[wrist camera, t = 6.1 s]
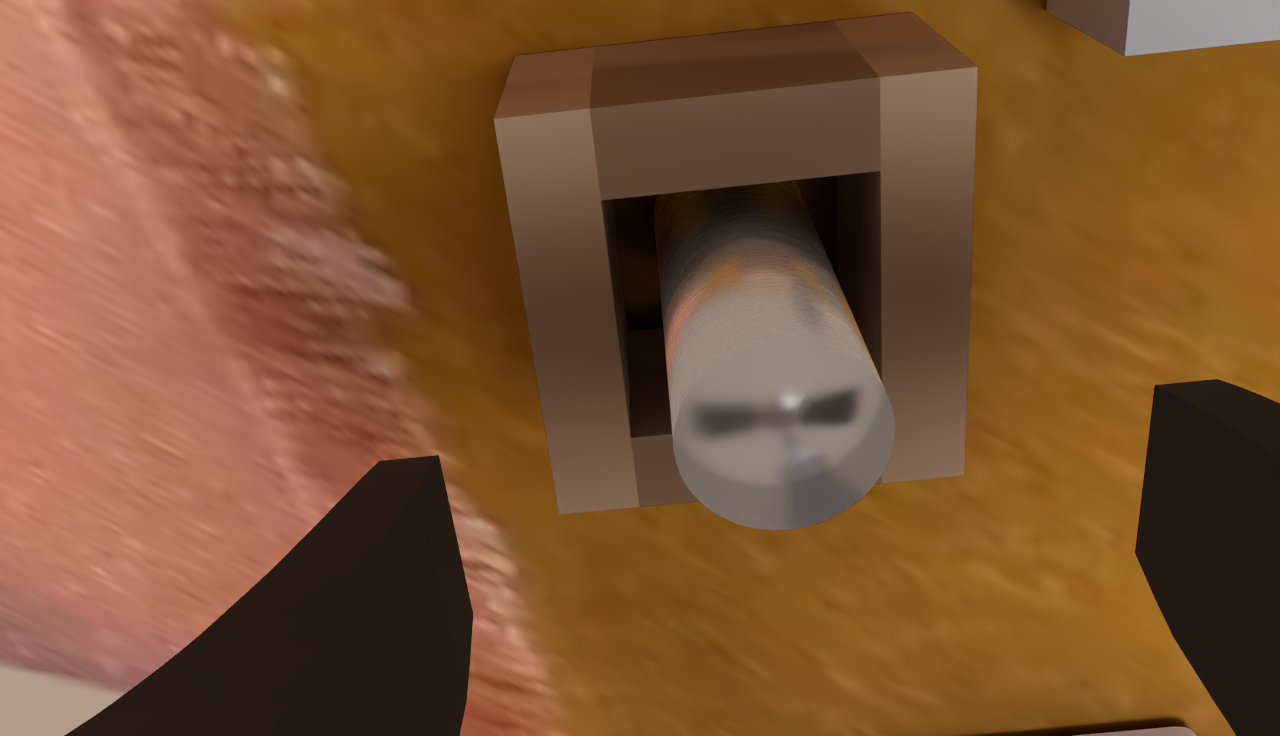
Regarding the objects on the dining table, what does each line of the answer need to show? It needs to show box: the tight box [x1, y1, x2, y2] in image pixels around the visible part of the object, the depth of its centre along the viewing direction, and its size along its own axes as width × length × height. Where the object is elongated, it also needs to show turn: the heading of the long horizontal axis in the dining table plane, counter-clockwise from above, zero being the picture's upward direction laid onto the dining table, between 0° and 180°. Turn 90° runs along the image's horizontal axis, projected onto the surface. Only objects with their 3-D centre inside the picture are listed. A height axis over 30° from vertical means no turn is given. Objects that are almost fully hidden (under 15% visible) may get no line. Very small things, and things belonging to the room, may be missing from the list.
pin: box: [654, 180, 895, 530], centre depth 16 cm, size 2×2×7 cm
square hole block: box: [494, 12, 978, 515], centre depth 17 cm, size 6×6×4 cm
